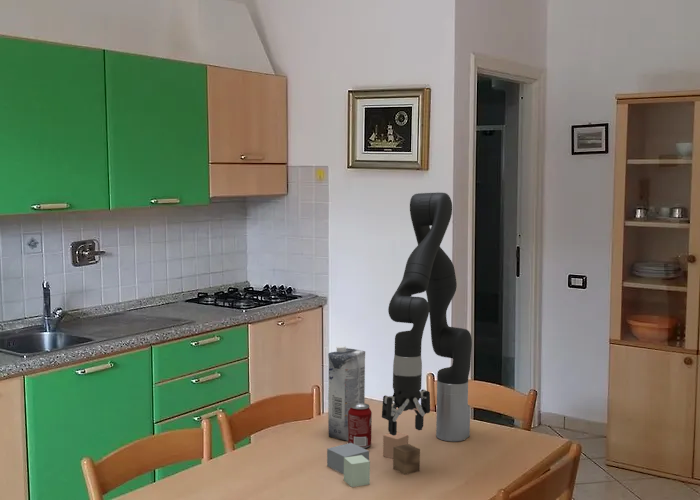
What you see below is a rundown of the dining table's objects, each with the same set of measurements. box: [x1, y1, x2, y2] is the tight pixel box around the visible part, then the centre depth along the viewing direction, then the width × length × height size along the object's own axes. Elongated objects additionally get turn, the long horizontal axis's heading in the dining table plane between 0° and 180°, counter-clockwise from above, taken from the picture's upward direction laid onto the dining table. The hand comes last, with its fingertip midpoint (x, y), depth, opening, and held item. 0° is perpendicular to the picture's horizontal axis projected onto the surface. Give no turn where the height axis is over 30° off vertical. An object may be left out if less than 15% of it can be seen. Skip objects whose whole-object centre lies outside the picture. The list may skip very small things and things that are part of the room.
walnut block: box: [392, 443, 421, 476], centre depth 208 cm, size 5×5×6 cm
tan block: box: [382, 431, 410, 460], centre depth 219 cm, size 5×5×6 cm
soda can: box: [347, 402, 373, 449], centre depth 226 cm, size 7×7×12 cm
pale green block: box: [343, 455, 371, 488], centre depth 200 cm, size 5×5×6 cm
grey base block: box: [326, 442, 370, 475], centre depth 210 cm, size 8×8×5 cm
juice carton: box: [327, 345, 366, 442], centre depth 235 cm, size 9×10×27 cm
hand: (405, 432), depth 208 cm, fingers open, 8 cm apart
